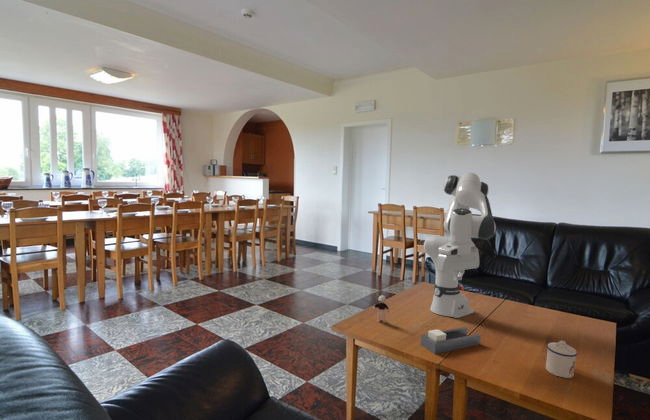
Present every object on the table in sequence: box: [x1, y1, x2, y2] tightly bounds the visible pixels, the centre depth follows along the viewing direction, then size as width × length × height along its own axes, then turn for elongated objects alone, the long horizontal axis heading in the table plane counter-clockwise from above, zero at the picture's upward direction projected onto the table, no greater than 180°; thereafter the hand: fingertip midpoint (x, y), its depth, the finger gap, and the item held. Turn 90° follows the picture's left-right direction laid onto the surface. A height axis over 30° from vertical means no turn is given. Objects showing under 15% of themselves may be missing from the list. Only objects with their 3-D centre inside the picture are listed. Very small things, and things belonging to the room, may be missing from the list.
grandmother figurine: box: [372, 294, 390, 324], centre depth 171 cm, size 8×4×13 cm, turn 84°
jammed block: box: [427, 328, 446, 342], centre depth 147 cm, size 5×5×5 cm
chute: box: [420, 326, 482, 355], centre depth 150 cm, size 24×9×4 cm, turn 114°
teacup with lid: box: [545, 340, 578, 379], centre depth 132 cm, size 12×9×12 cm
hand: (457, 280), depth 152 cm, fingers closed
